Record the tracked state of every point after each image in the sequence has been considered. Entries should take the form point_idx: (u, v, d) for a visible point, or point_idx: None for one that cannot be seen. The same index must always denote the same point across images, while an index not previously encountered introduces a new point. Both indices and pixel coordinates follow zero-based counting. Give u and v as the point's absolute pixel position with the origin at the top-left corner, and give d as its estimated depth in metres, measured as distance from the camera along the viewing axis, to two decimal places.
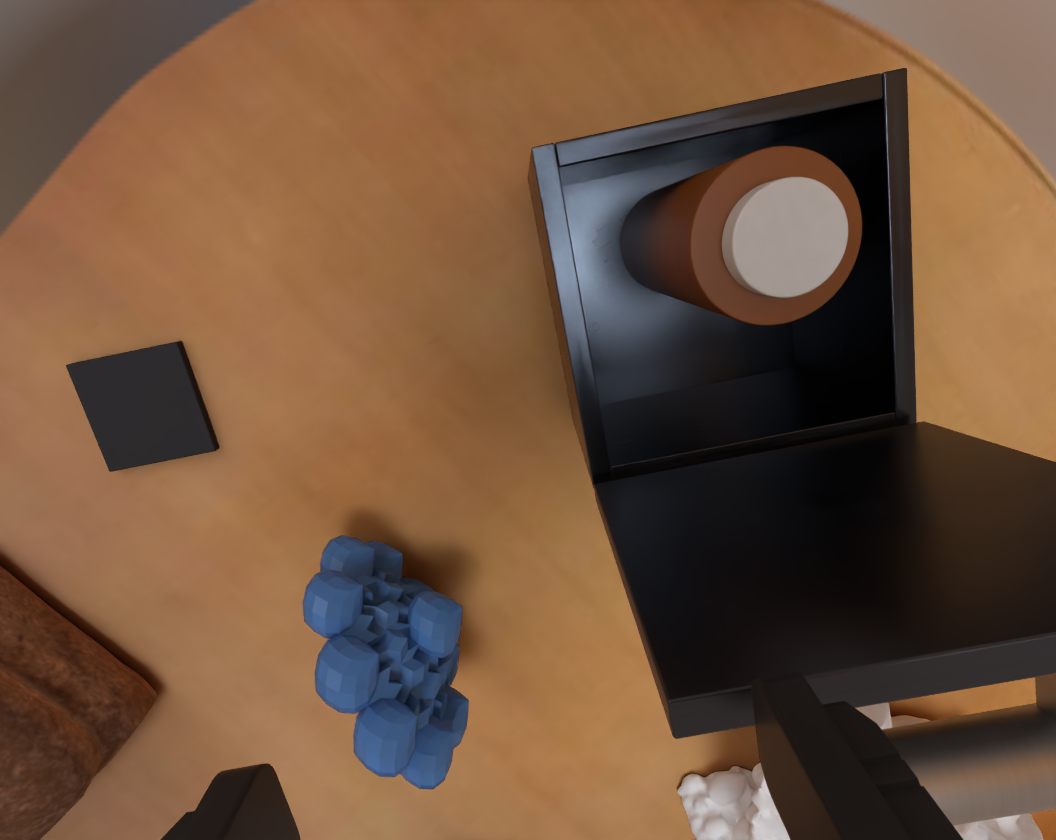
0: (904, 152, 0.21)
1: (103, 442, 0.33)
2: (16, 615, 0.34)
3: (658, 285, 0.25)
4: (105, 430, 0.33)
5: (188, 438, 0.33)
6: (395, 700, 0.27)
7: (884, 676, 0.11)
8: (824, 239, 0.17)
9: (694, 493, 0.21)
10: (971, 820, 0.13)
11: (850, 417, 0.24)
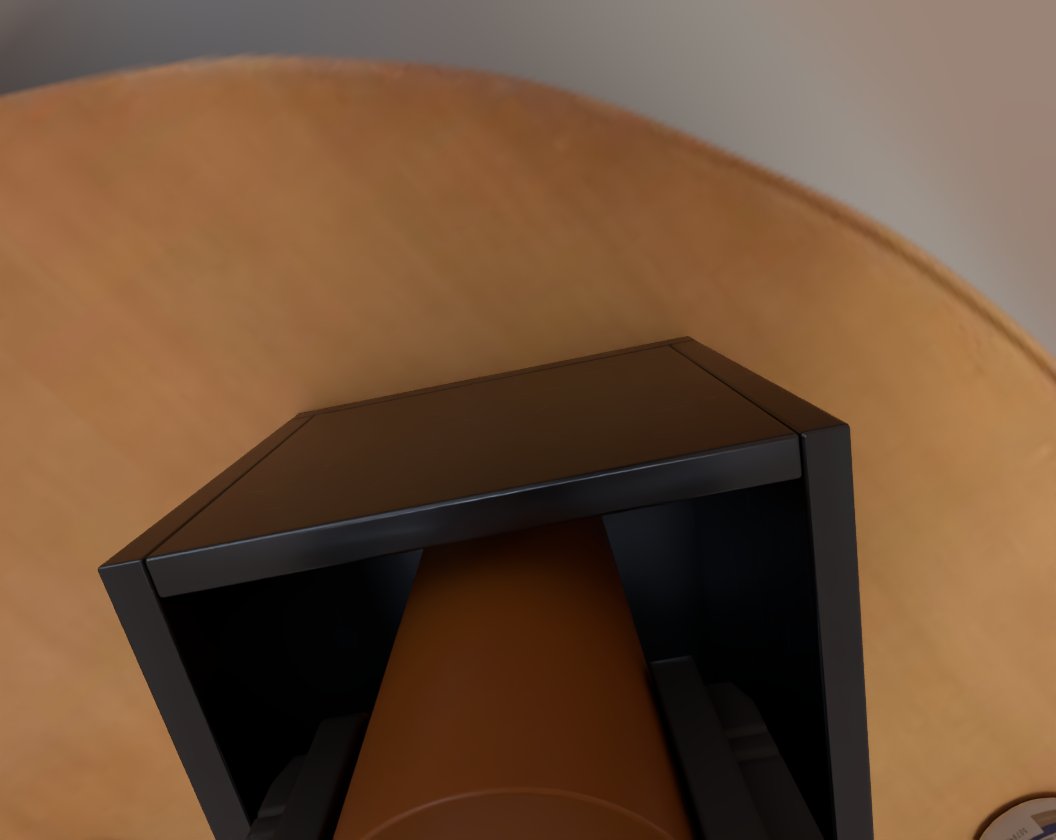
0: (848, 571, 0.10)
1: None
2: None
3: None
4: None
5: None
6: None
7: None
8: None
9: None
10: None
11: None
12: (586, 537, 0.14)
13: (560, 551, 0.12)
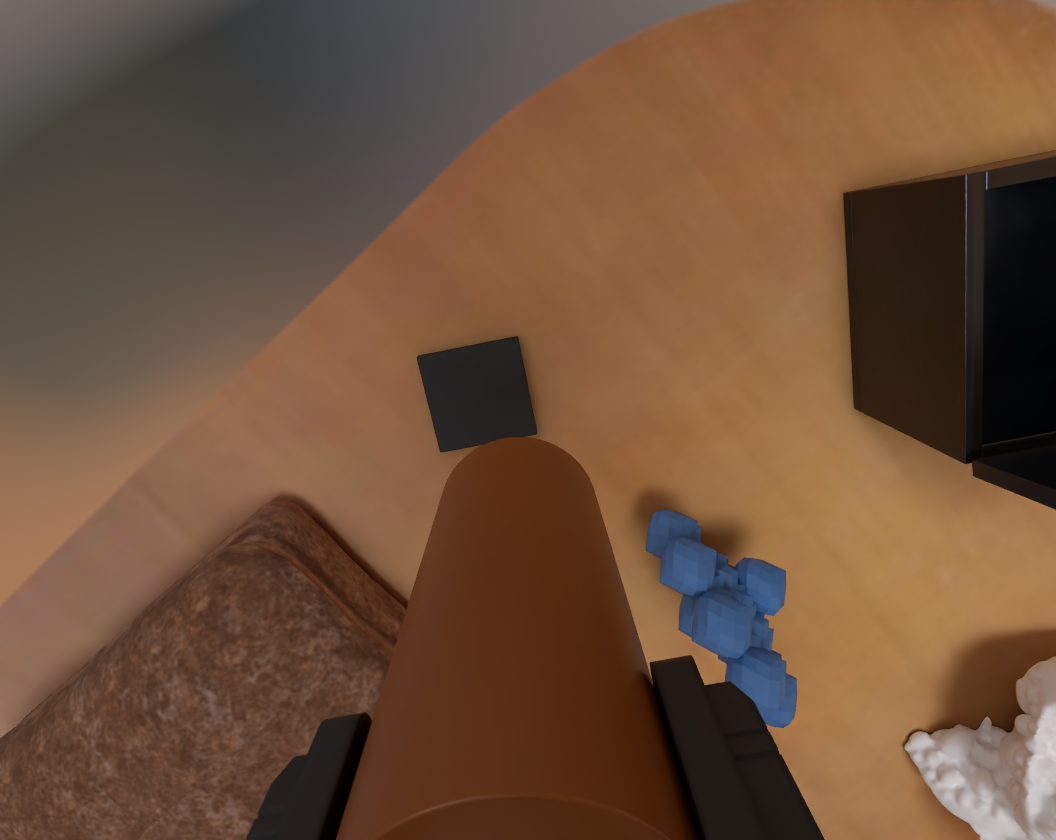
0: None
1: (439, 426, 0.37)
2: (357, 580, 0.38)
3: None
4: (442, 415, 0.37)
5: (515, 423, 0.37)
6: (760, 648, 0.31)
7: None
8: None
9: None
10: None
11: None
12: (588, 540, 0.14)
13: (562, 554, 0.12)
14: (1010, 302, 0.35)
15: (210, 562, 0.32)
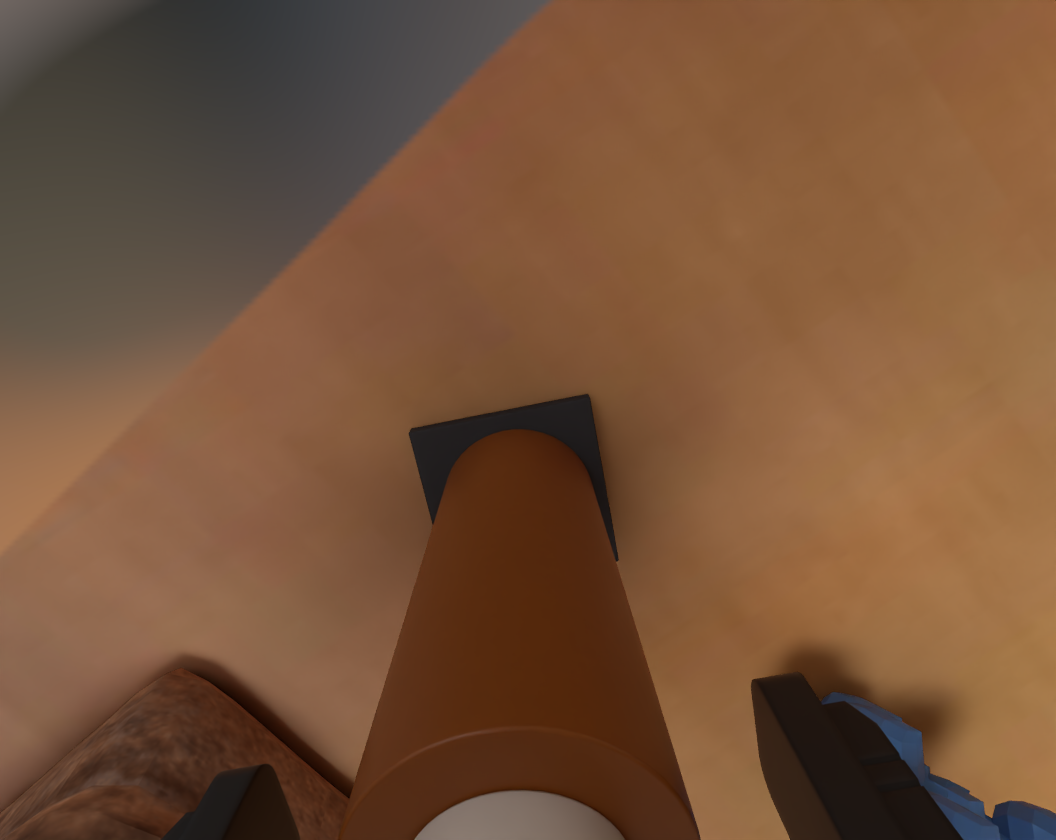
0: None
1: None
2: (307, 814, 0.22)
3: None
4: None
5: None
6: None
7: None
8: None
9: None
10: None
11: None
12: (584, 521, 0.15)
13: (559, 533, 0.13)
14: None
15: None
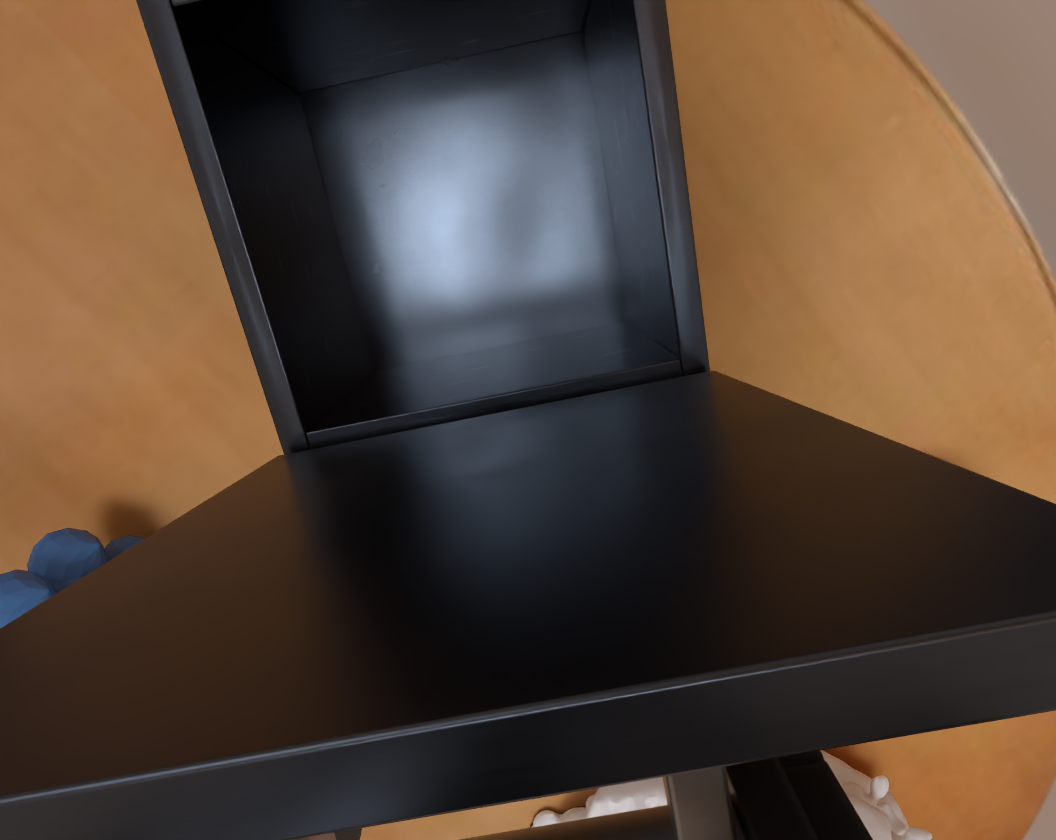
0: None
1: None
2: None
3: None
4: None
5: None
6: None
7: (75, 816, 0.05)
8: None
9: (352, 463, 0.15)
10: None
11: (624, 367, 0.18)
12: None
13: None
14: (536, 236, 0.25)
15: None
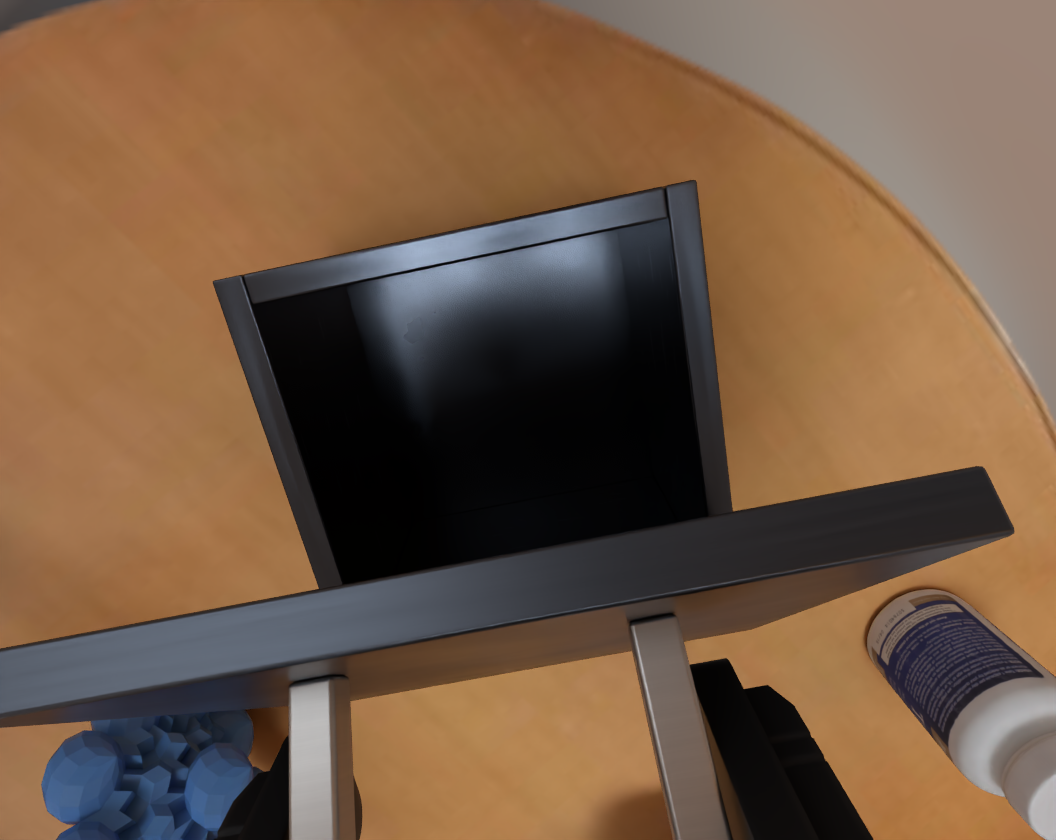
0: (700, 285, 0.16)
1: None
2: None
3: None
4: None
5: None
6: None
7: (225, 627, 0.07)
8: None
9: None
10: None
11: None
12: None
13: None
14: (568, 402, 0.26)
15: None
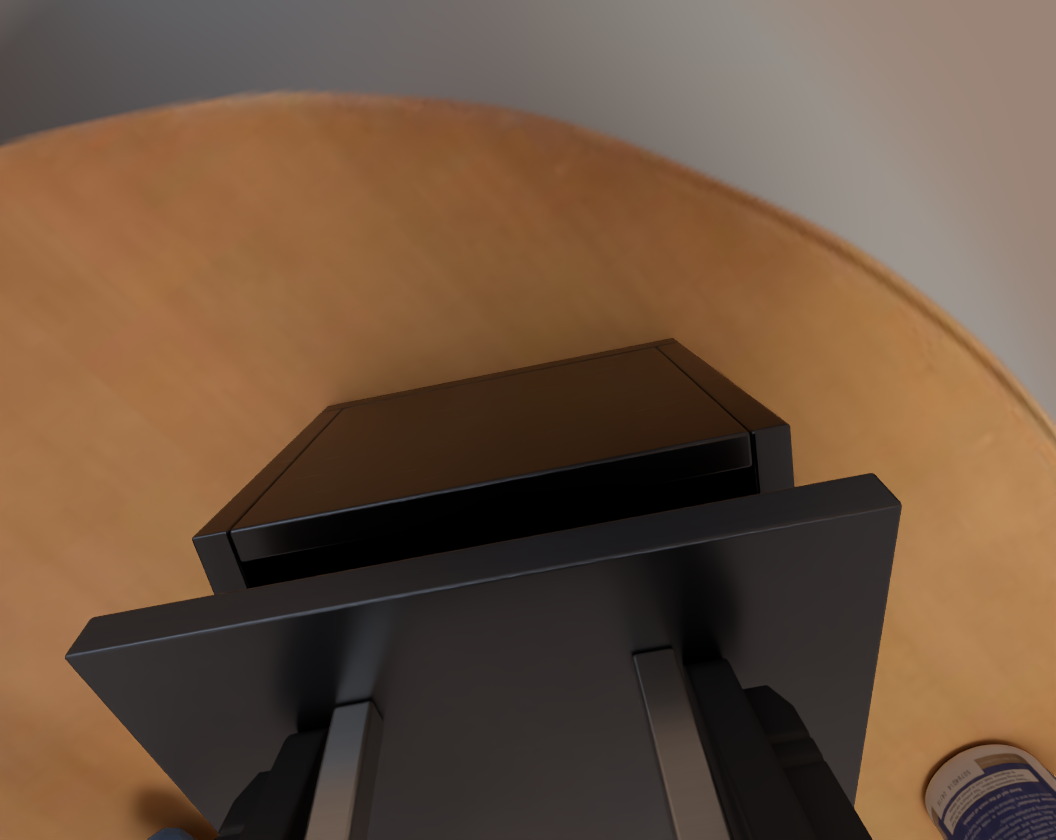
0: None
1: None
2: None
3: None
4: None
5: None
6: None
7: (312, 585, 0.10)
8: None
9: None
10: None
11: None
12: None
13: None
14: None
15: None
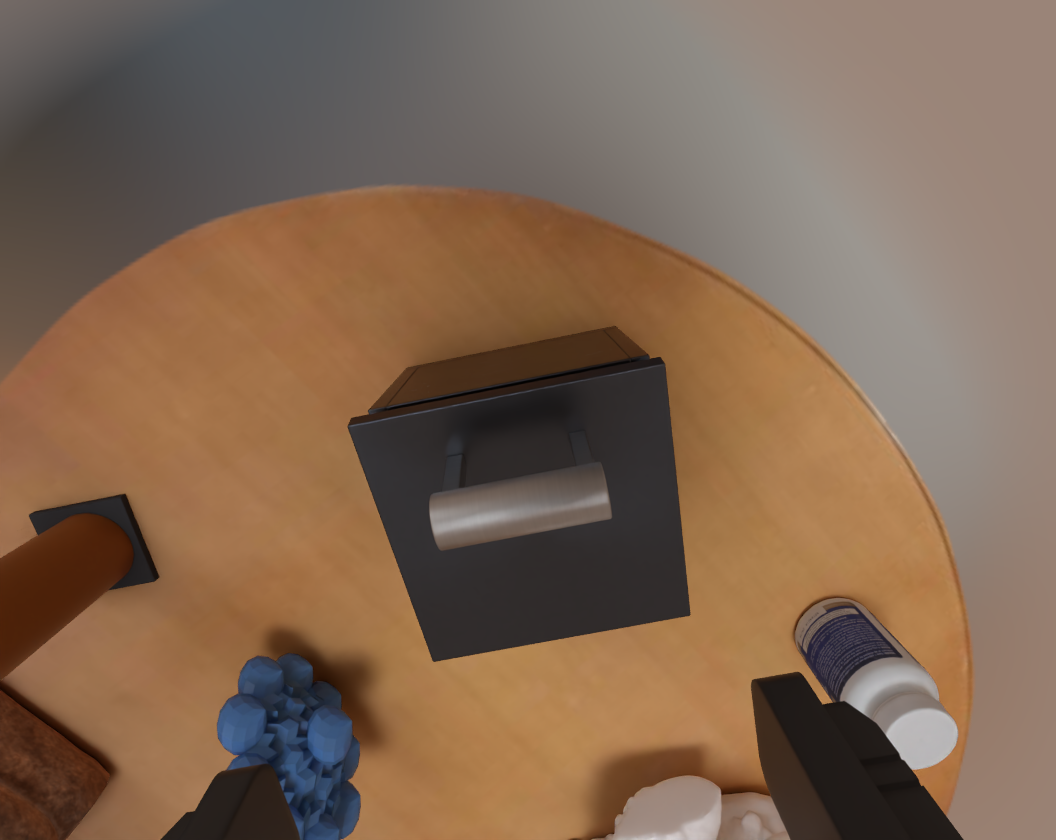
0: None
1: None
2: None
3: None
4: None
5: (132, 572, 0.40)
6: None
7: (442, 401, 0.25)
8: None
9: None
10: (510, 493, 0.21)
11: None
12: (42, 568, 0.33)
13: (7, 575, 0.32)
14: None
15: None
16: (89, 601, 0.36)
